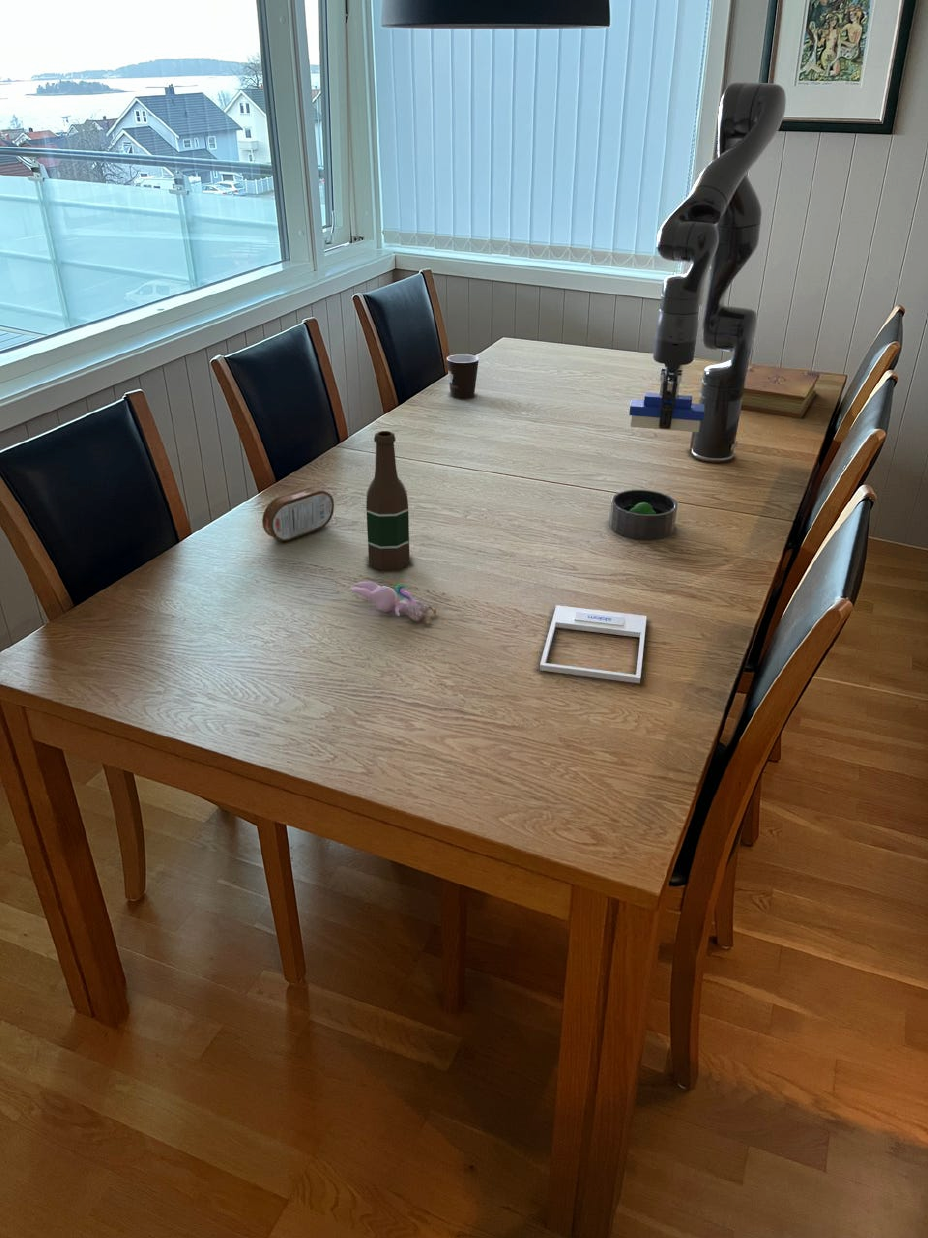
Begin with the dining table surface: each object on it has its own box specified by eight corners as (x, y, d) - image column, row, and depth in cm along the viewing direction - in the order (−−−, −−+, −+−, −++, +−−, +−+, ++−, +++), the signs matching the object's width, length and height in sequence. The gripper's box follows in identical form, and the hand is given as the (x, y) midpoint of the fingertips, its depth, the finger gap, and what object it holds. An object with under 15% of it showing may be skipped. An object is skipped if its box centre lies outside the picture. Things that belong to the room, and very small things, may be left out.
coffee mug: (478, 400, 246) (478, 362, 241) (446, 399, 246) (446, 362, 241) (478, 387, 256) (478, 351, 251) (447, 386, 256) (447, 350, 251)
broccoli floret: (622, 526, 178) (625, 503, 175) (641, 518, 181) (644, 495, 179) (644, 535, 174) (647, 512, 172) (663, 527, 178) (666, 504, 175)
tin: (328, 519, 180) (325, 479, 176) (338, 524, 178) (335, 484, 174) (263, 543, 171) (258, 501, 167) (273, 548, 169) (268, 506, 165)
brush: (628, 427, 179) (631, 396, 176) (629, 419, 183) (632, 389, 180) (701, 432, 177) (705, 402, 174) (701, 424, 181) (705, 394, 178)
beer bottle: (377, 575, 161) (371, 444, 148) (361, 557, 166) (354, 429, 154) (418, 566, 164) (415, 437, 151) (400, 548, 170) (396, 423, 157)
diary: (747, 384, 261) (750, 364, 258) (815, 393, 254) (819, 373, 251) (728, 406, 243) (732, 385, 240) (801, 417, 236) (805, 395, 233)
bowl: (597, 520, 181) (599, 494, 178) (651, 511, 185) (654, 485, 182) (630, 546, 171) (633, 519, 168) (686, 536, 175) (690, 509, 172)
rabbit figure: (439, 619, 151) (360, 587, 155) (444, 589, 147) (363, 557, 151) (421, 637, 146) (340, 603, 150) (426, 606, 142) (344, 573, 146)
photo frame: (646, 614, 147) (640, 677, 132) (645, 620, 148) (639, 683, 133) (556, 604, 150) (540, 663, 135) (555, 610, 150) (539, 670, 135)
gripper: (657, 325, 178) (647, 410, 187) (654, 343, 166) (643, 434, 175) (696, 327, 176) (684, 413, 185) (696, 346, 164) (684, 437, 173)
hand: (665, 423), depth 180 cm, fingers closed on brush, 4 cm apart
